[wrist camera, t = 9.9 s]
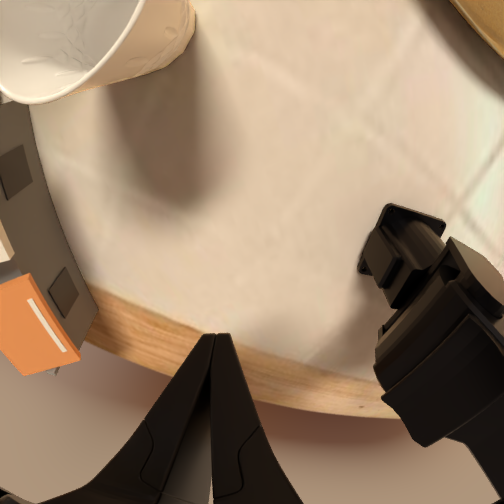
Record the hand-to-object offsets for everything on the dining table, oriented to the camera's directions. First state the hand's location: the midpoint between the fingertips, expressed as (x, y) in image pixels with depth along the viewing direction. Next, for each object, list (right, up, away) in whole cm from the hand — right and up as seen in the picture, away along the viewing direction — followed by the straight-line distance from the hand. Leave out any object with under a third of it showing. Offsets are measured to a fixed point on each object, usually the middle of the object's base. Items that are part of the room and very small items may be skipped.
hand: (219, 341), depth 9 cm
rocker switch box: (-20, +8, +11) cm, 24 cm away
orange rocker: (-18, -4, +9) cm, 20 cm away
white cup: (-6, +17, +4) cm, 18 cm away
